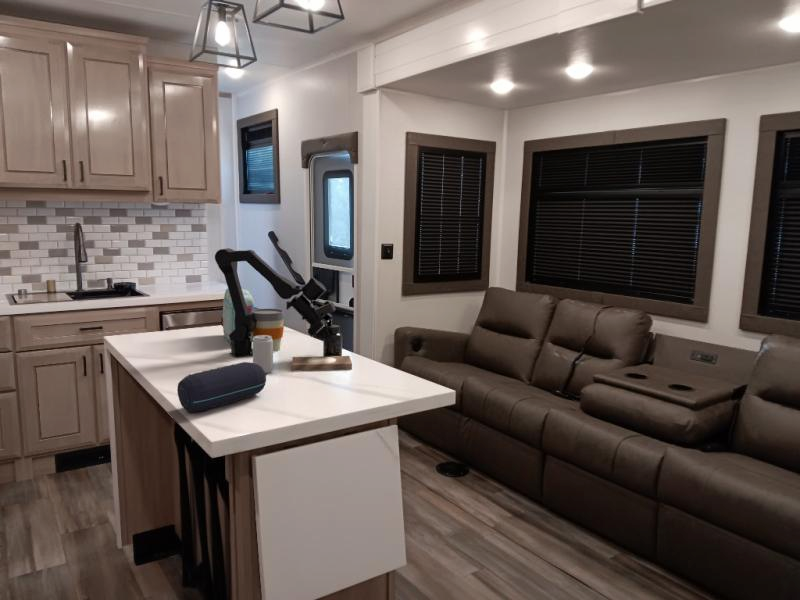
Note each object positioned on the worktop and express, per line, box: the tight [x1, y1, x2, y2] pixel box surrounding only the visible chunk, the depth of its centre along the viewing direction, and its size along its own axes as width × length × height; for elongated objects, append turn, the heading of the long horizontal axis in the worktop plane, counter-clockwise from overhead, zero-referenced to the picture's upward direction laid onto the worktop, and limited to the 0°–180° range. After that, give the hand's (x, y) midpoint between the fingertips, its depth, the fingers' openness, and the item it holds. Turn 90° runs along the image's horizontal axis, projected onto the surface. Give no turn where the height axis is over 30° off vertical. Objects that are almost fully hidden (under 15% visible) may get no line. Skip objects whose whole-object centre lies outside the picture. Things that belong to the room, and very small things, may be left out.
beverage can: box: [252, 335, 274, 375], centre depth 191 cm, size 6×6×12 cm
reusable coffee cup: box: [251, 308, 286, 352], centre depth 222 cm, size 13×13×15 cm
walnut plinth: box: [291, 355, 353, 371], centre depth 201 cm, size 20×11×2 cm, turn 99°
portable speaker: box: [176, 361, 267, 413], centre depth 160 cm, size 25×10×10 cm, turn 143°
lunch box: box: [220, 286, 255, 344], centre depth 238 cm, size 27×10×21 cm, turn 25°
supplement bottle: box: [322, 324, 343, 356], centre depth 211 cm, size 7×7×12 cm
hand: (336, 340), depth 211 cm, fingers closed on supplement bottle, 7 cm apart
